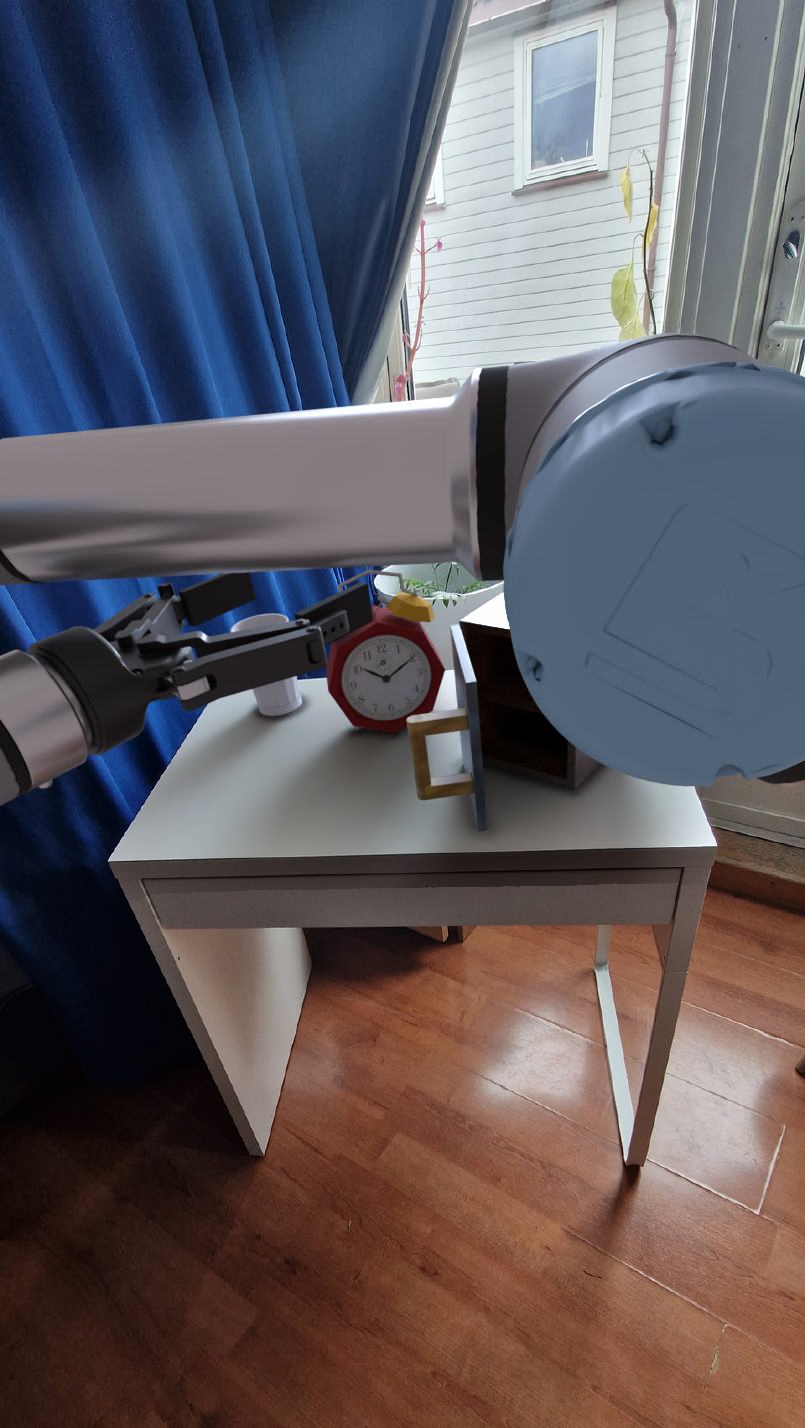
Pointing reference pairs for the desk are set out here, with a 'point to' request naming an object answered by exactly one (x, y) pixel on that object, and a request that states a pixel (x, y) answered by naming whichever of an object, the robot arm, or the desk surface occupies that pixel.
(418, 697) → the alarm clock
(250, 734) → the desk surface
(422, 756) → the door
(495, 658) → the cupboard
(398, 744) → the desk surface
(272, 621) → the cup
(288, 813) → the desk surface
